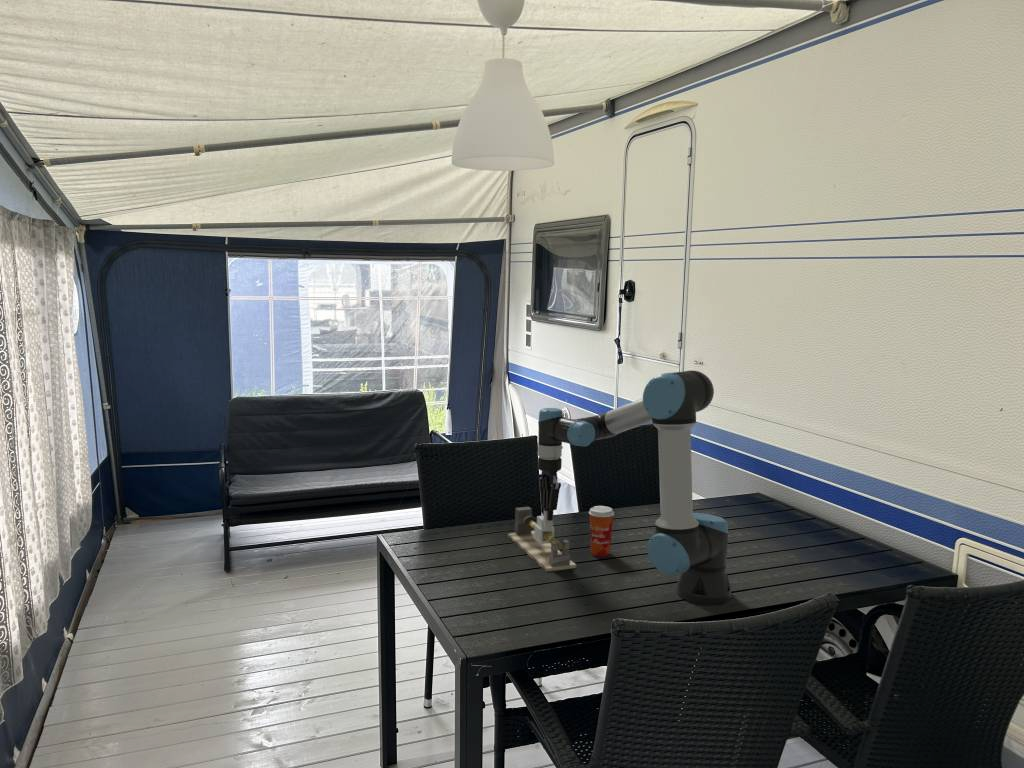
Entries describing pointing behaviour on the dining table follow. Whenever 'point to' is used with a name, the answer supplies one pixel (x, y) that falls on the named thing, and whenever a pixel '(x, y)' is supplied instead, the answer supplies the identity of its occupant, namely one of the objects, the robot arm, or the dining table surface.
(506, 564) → the dining table surface
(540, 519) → the sleeve
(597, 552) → the coffee cup
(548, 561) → the cord rig
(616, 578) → the dining table surface
